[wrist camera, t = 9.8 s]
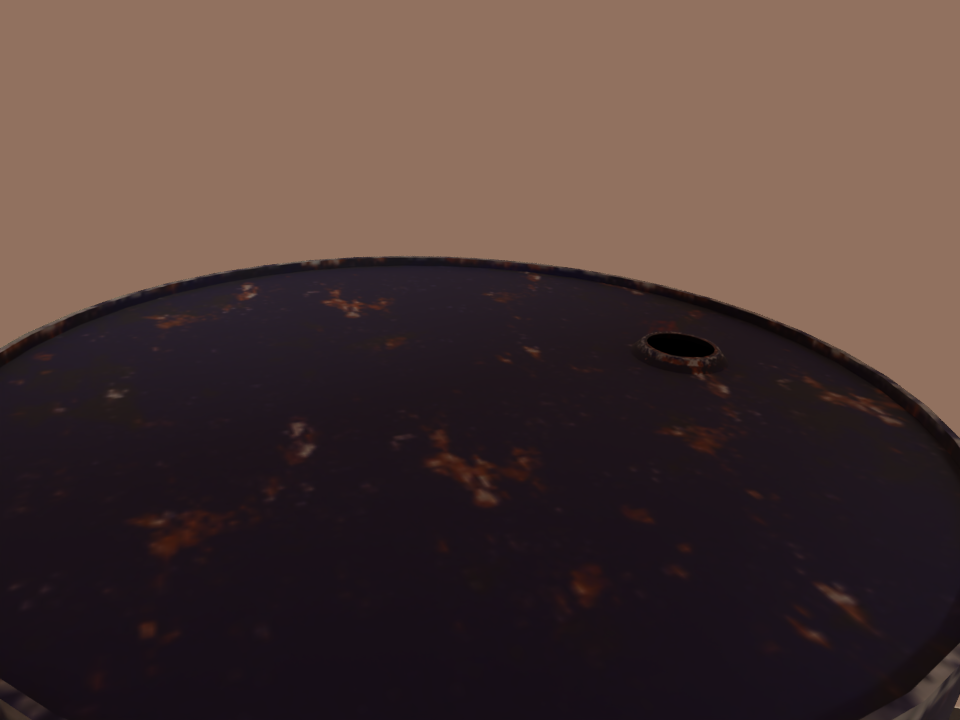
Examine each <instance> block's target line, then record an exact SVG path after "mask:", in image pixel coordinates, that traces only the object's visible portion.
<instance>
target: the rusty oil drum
mask: <svg viewBox="0 0 960 720" xmlns="http://www.w3.org/2000/svg"><path fill="white" fill-rule="evenodd" d="M959 695H960V438H959V437H958V436H957V435H956V434H955V433H954V432H953V431H952V430H951V429H950V428H949V427H948V426H947V425H946V424H945V423H944V422H943V421H941V419H940V418H939V417H938V416H937V415H936V414H935V413H934V412H933V411H932V410H931V409H930V408H929V407H927V406H926V405H925V404H924V403H922V402H921V401H920V400H918V399H917V398H916V397H914V396H913V395H911V394H910V393H909V392H907V391H906V390H905V389H903V388H902V387H901V386H899V385H898V384H897V383H895V382H894V381H893V380H891V379H890V378H889V377H887V376H885V375H884V374H882V373H880V372H879V371H877V370H875V369H873V368H872V367H870V366H868V365H867V364H865V363H863V362H862V361H860V360H858V359H856V358H855V357H853V356H851V355H850V354H848V353H846V352H844V351H842V350H840V349H838V348H836V347H834V346H832V345H830V344H828V343H826V342H823V341H821V340H819V339H817V338H815V337H813V336H811V335H809V334H807V333H805V332H803V331H800V330H798V329H795V328H793V327H790V326H788V325H785V324H783V323H780V322H778V321H775V320H773V319H770V318H768V317H765V316H763V315H760V314H757V313H755V312H751V311H748V310H745V309H742V308H739V307H736V306H733V305H730V304H727V303H724V302H721V301H718V300H715V299H712V298H708V297H704V296H701V295H697V294H693V293H690V292H686V291H682V290H678V289H675V288H671V287H667V286H663V285H658V284H654V283H649V282H645V281H640V280H635V279H631V278H626V277H621V276H616V275H609V274H604V273H598V272H593V271H586V270H581V269H574V268H567V267H559V266H552V265H544V264H537V263H527V262H526V263H525V262H516V261H505V260H494V259H477V258H458V257H425V256H424V257H423V256H389V257H353V258H338V259H325V260H309V261H301V262H291V263H282V264H272V265H263V266H258V267H251V268H245V269H238V270H232V271H225V272H219V273H214V274H209V275H204V276H200V277H195V278H190V279H185V280H181V281H176V282H171V283H167V284H163V285H160V286H156V287H152V288H149V289H145V290H141V291H138V292H134V293H131V294H127V295H123V296H120V297H117V298H114V299H111V300H108V301H105V302H102V303H100V304H97V305H94V306H91V307H88V308H85V309H82V310H79V311H77V312H74V313H71V314H69V315H67V316H64V317H62V318H60V319H58V320H55V321H53V322H51V323H49V324H47V325H44V326H42V327H40V328H38V329H35V330H33V331H31V332H28V333H26V334H24V335H22V336H21V337H19V338H17V339H16V340H14V341H12V342H10V343H8V344H7V345H5V346H3V347H1V348H0V720H949V718H950V716H951V713H952V711H953V709H954V706H955V704H956V702H957V700H958V697H959Z"/></svg>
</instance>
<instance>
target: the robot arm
mask: <svg viewBox="0 0 960 720" xmlns="http://www.w3.org/2000/svg"><path fill="white" fill-rule="evenodd" d="M949 720H960V709H959V708H954V709H953V711H952V713H951V716H950V718H949Z"/></svg>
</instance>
